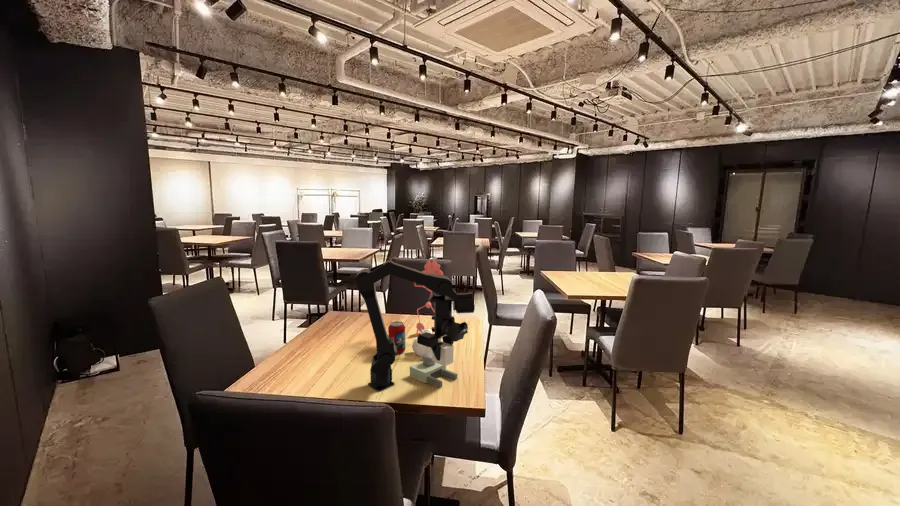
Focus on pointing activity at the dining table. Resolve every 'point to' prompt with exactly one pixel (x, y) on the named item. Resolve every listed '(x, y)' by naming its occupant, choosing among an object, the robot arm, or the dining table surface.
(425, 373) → the wall plug adapter
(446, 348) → the upright cream block
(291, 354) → the dining table surface
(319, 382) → the dining table surface
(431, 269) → the figurine
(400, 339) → the beverage can
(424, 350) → the bust
